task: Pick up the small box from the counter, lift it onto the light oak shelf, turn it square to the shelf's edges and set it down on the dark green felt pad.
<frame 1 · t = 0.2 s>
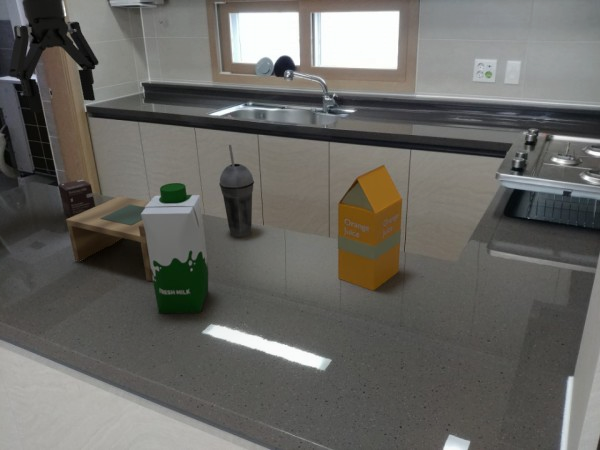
hand: (64, 106, 114), 27 cm above the worktop, tool pointing down, fingers open, 13 cm apart
milk carton: (184, 302, 92), on the worktop
box: (80, 213, 131), on the worktop
orange juice: (368, 275, 98), on the worktop
beverage cup: (240, 233, 117), on the worktop
shelf: (137, 255, 108), on the worktop
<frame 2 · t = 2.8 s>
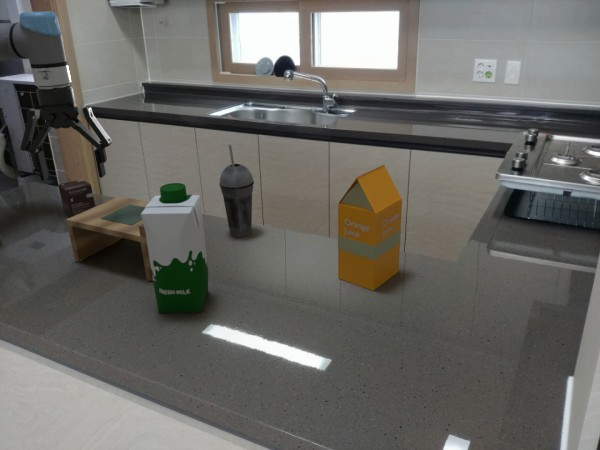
hand: (73, 177, 127), 9 cm above the worktop, tool pointing down, fingers open, 13 cm apart
nothing on the worktop moved.
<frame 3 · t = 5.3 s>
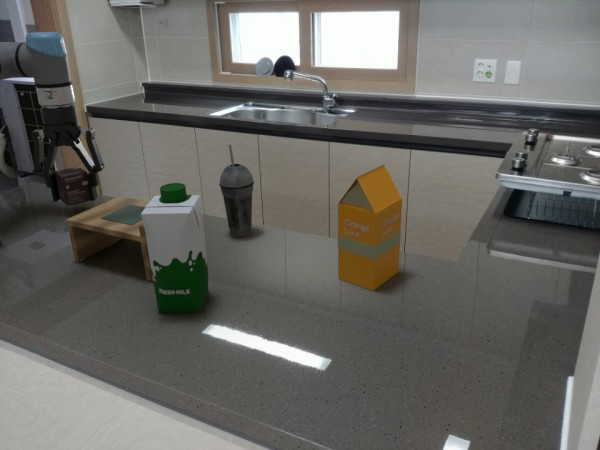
hand: (75, 199, 130), 3 cm above the worktop, tool pointing down, fingers closed on box, 8 cm apart
box: (76, 201, 130), point 3 cm above the worktop, touching gripper
everything else where it was.
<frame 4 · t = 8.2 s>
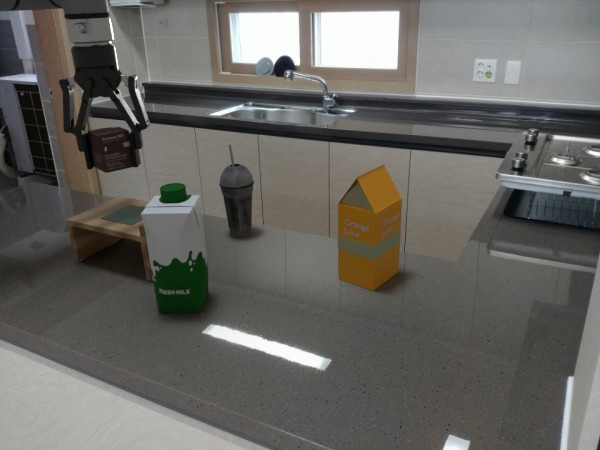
hand: (114, 166, 105), 18 cm above the worktop, tool pointing down, fingers closed on box, 8 cm apart
box: (114, 168, 105), point 17 cm above the worktop, touching gripper
everything else where it was.
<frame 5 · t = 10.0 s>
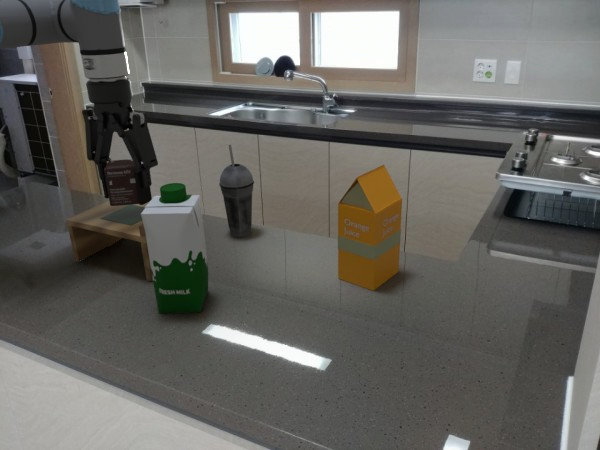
hand: (128, 199, 103), 12 cm above the worktop, tool pointing down, fingers closed on box, 8 cm apart
box: (128, 201, 104), point 12 cm above the worktop, touching gripper
everything else where it was.
when the fingers open (9 cm above the worktop, at t = 11.0 s): box stays where it is, resting on shelf.
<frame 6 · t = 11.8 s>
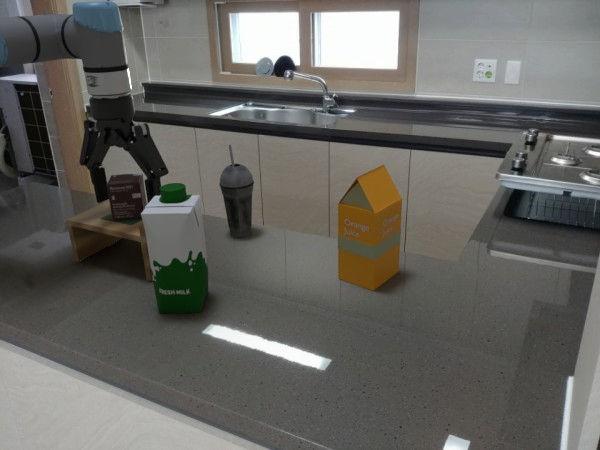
hand: (128, 205, 104), 11 cm above the worktop, tool pointing down, fingers open, 13 cm apart
box: (130, 215, 105), point 9 cm above the worktop, touching shelf
everything else where it was.
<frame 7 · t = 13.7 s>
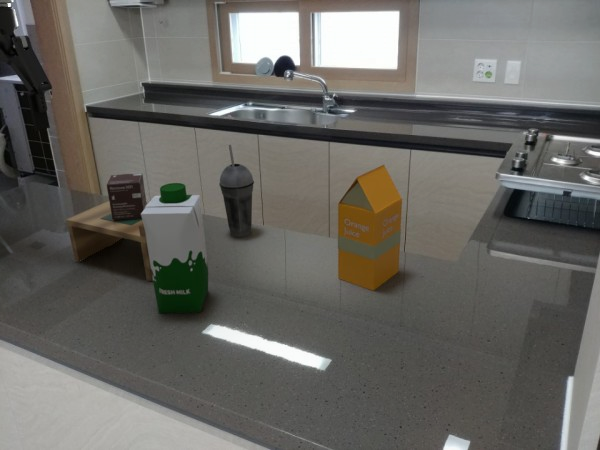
hand: (18, 125, 103), 26 cm above the worktop, tool pointing down, fingers open, 13 cm apart
nothing on the worktop moved.
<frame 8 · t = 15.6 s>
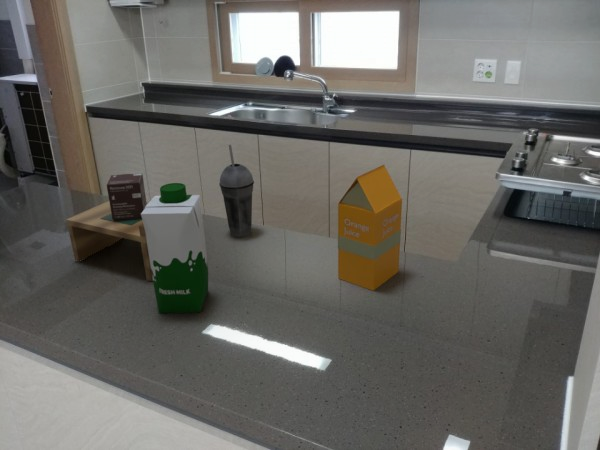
nothing on the worktop moved.
at the end: box 0.0 cm off-centre on the shelf, point 8.9 cm above the shelf's base; box tilted 0°; the gripper is holding nothing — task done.
